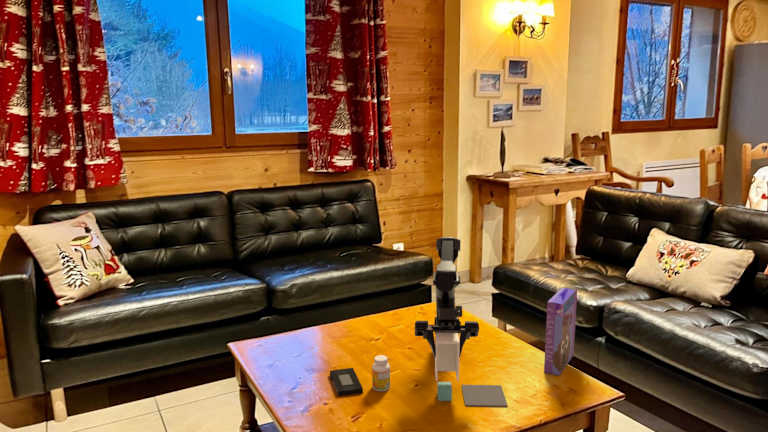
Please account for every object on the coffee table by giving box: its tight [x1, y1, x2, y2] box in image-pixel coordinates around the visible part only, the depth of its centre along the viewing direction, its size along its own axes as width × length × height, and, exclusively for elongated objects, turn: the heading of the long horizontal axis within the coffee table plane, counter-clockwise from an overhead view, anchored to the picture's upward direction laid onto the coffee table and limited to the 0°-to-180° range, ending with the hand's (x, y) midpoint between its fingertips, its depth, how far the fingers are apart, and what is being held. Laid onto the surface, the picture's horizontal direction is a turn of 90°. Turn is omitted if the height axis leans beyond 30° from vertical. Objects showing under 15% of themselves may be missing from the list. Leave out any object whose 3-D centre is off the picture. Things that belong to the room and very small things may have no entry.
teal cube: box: [436, 381, 453, 402], centre depth 173 cm, size 4×4×4 cm
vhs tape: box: [329, 367, 364, 397], centre depth 182 cm, size 8×14×2 cm, turn 15°
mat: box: [461, 384, 508, 408], centre depth 174 cm, size 12×12×1 cm
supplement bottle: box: [371, 354, 391, 392], centre depth 178 cm, size 5×5×10 cm
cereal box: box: [543, 286, 578, 377], centre depth 192 cm, size 17×5×24 cm, turn 148°
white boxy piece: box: [434, 332, 460, 382], centre depth 171 cm, size 7×7×12 cm
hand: (447, 356), depth 169 cm, fingers closed on white boxy piece, 7 cm apart
